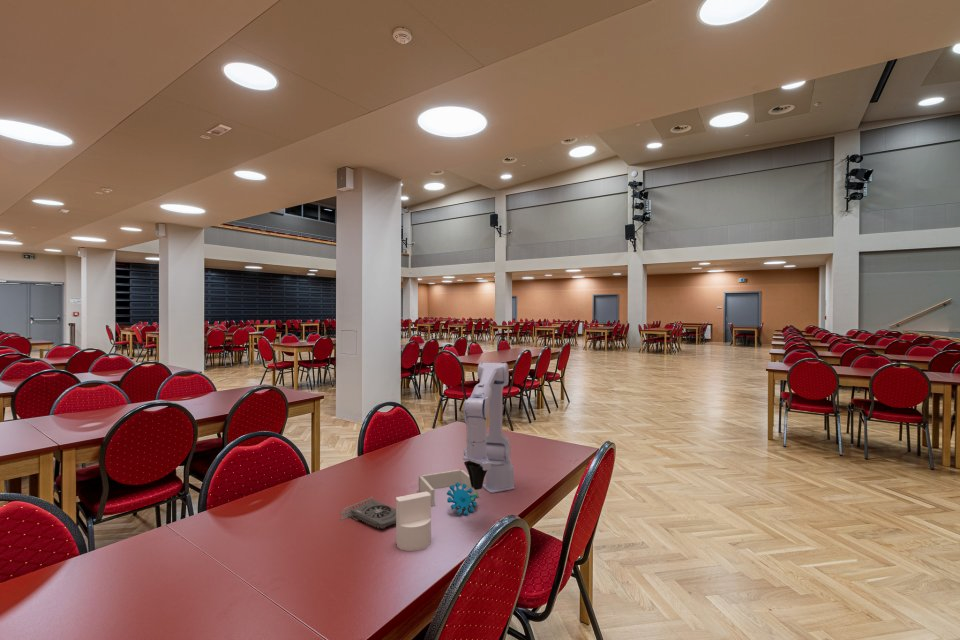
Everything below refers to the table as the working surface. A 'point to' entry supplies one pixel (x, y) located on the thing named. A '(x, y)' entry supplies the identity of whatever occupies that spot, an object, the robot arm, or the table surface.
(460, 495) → the blue virus model
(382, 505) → the graphics card
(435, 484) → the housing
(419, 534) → the cylinder with rectangular tab
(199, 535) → the table surface
